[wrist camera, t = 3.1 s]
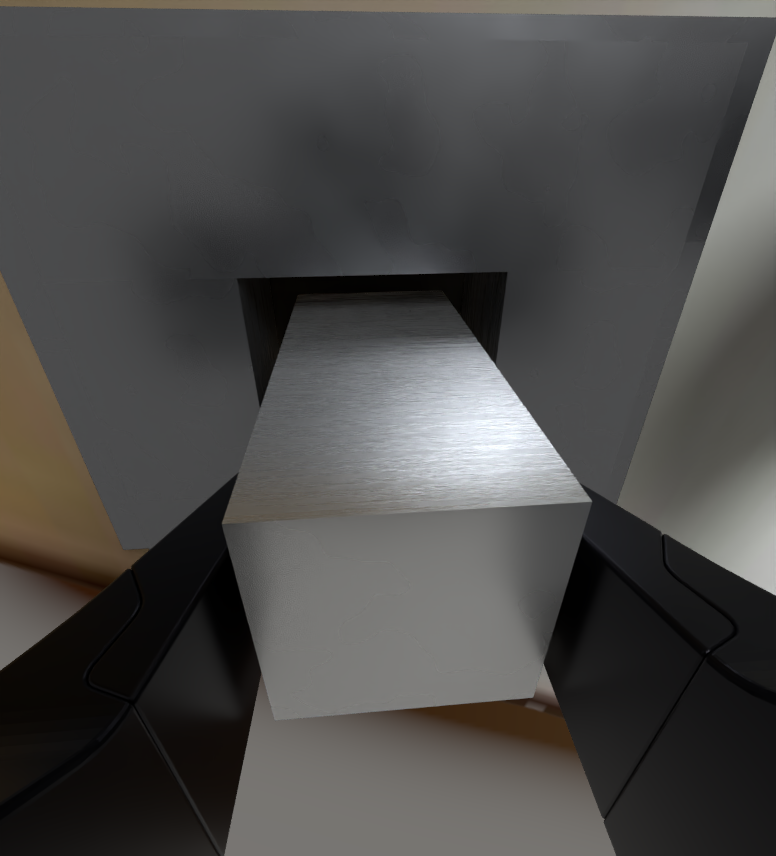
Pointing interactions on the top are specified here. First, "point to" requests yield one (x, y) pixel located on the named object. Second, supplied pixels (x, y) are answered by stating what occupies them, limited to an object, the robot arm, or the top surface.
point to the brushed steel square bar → (397, 515)
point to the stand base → (352, 209)
